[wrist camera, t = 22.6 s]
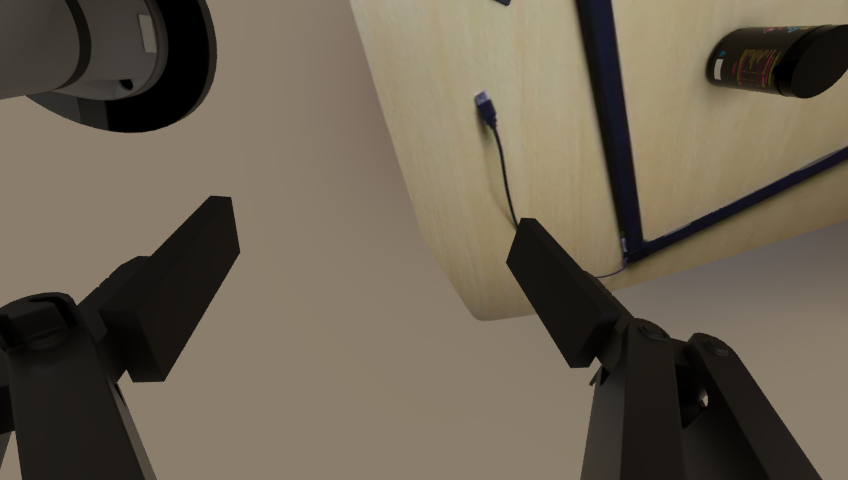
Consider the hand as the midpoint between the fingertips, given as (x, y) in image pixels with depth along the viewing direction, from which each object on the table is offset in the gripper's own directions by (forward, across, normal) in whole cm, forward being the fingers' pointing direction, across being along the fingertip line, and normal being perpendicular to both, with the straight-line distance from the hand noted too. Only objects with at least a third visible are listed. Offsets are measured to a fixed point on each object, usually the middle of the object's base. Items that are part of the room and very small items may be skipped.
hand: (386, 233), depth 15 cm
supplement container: (+29, +45, +12) cm, 55 cm away
